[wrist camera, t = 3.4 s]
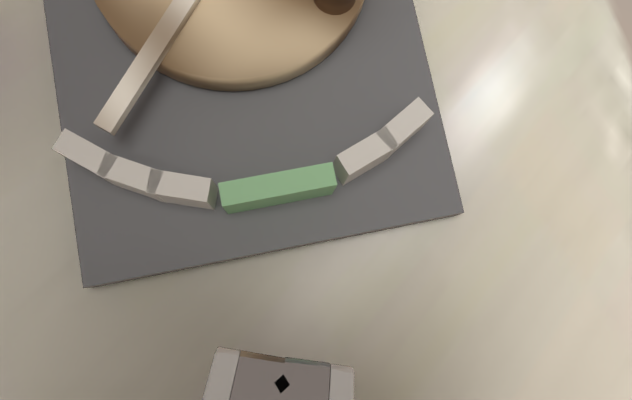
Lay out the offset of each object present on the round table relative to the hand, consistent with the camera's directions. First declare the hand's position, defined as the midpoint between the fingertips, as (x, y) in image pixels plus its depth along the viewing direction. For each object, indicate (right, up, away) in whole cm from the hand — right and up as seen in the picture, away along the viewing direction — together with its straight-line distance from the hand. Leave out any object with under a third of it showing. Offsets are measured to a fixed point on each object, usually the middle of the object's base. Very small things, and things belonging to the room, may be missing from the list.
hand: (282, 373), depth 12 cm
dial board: (-4, +14, +21) cm, 25 cm away
